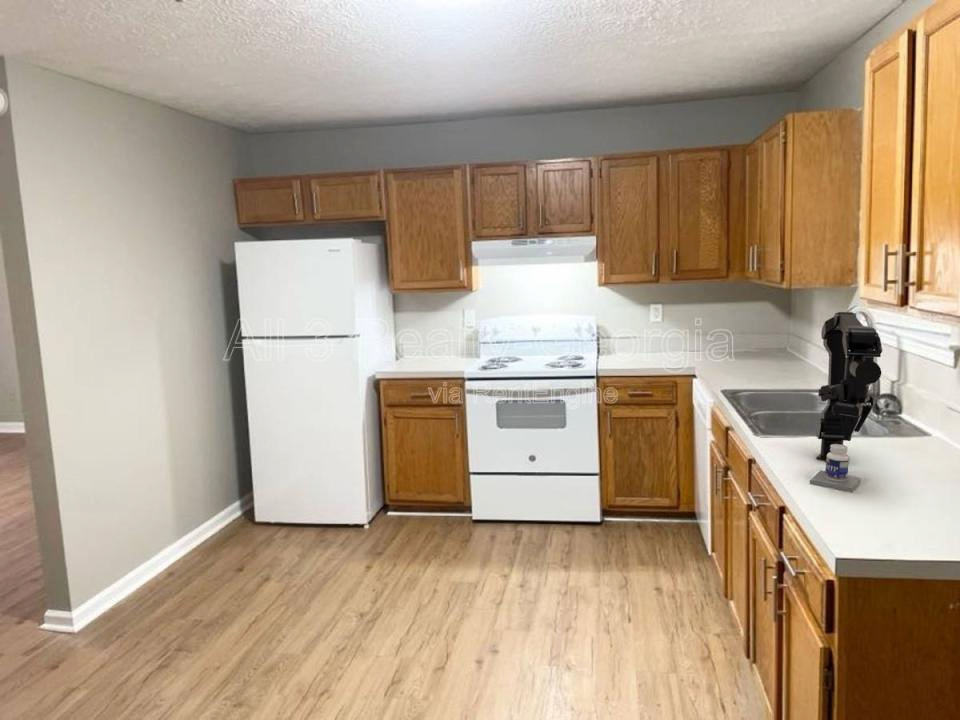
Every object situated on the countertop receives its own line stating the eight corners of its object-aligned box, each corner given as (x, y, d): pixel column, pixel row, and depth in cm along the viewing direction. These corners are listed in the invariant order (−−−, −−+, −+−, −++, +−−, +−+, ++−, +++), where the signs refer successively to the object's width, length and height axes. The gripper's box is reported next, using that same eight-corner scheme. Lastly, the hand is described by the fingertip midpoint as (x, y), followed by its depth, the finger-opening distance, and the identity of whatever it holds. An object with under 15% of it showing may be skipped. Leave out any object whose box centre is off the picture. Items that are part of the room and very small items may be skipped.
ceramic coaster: (820, 474, 193) (820, 470, 192) (860, 482, 186) (861, 478, 186) (809, 484, 185) (810, 479, 185) (851, 492, 179) (852, 488, 178)
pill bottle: (820, 476, 187) (822, 444, 186) (835, 474, 189) (838, 442, 187) (836, 483, 182) (839, 449, 181) (852, 480, 184) (855, 447, 182)
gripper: (833, 367, 193) (829, 423, 196) (812, 378, 180) (807, 437, 182) (879, 372, 186) (873, 430, 189) (860, 383, 172) (855, 445, 175)
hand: (851, 435), depth 184 cm, fingers open, 9 cm apart
